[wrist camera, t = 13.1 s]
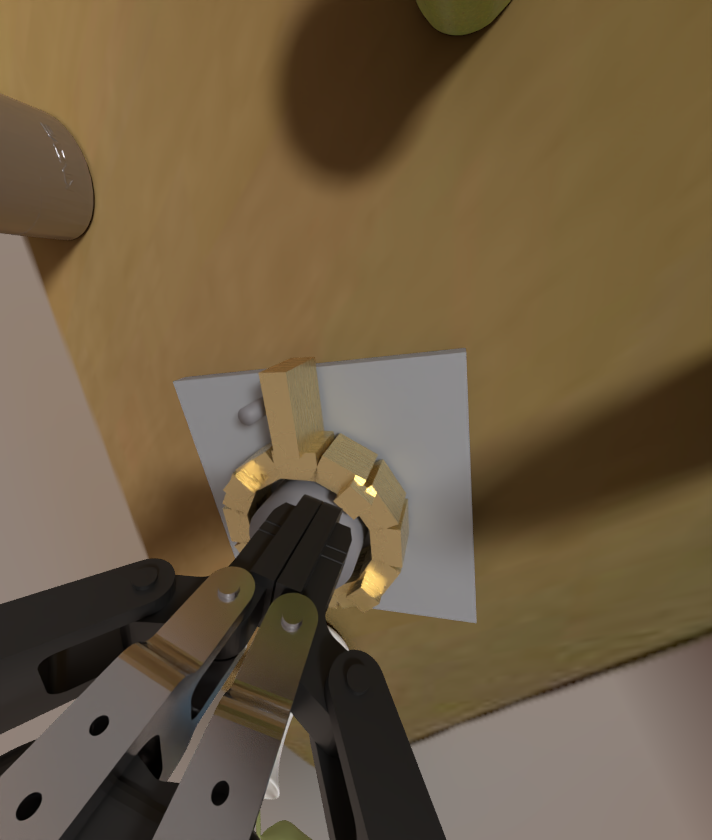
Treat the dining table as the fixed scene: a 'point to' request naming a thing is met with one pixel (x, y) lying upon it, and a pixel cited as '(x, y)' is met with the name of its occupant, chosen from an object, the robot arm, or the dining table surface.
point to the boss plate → (394, 442)
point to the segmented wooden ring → (322, 480)
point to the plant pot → (460, 14)
